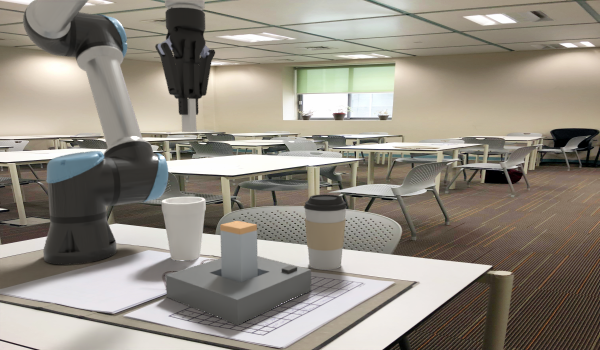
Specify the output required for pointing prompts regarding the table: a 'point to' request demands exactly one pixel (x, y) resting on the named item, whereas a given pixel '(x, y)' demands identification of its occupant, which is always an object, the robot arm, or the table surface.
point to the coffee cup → (325, 230)
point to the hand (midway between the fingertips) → (189, 131)
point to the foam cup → (184, 226)
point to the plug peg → (239, 251)
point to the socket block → (238, 289)
